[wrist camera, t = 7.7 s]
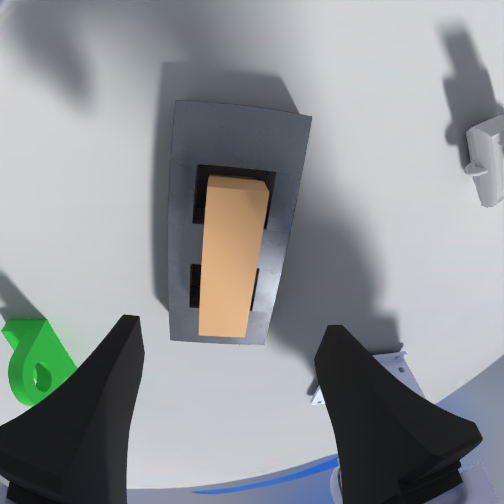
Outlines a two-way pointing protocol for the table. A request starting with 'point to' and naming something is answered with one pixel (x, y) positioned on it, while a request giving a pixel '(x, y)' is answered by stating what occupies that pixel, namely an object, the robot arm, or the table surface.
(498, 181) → the stamp
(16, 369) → the mechanical part
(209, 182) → the tan wooden block
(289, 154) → the grey flat block
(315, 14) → the table surface
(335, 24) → the table surface
